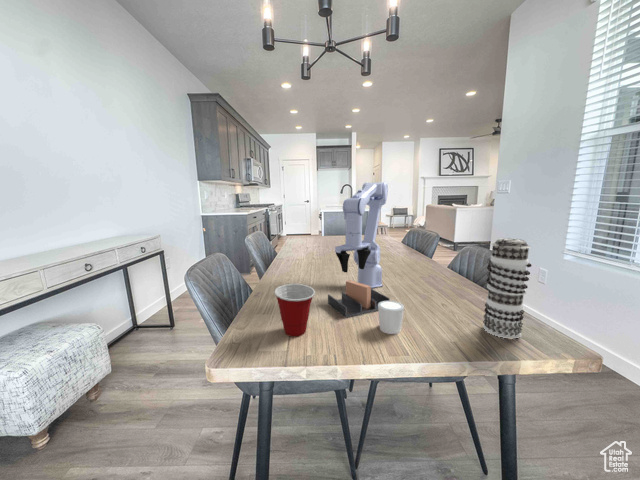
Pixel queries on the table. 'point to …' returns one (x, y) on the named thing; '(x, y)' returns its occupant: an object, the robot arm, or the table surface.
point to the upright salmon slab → (359, 292)
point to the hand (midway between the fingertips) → (353, 270)
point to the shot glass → (390, 316)
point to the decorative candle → (506, 287)
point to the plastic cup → (294, 307)
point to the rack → (355, 304)
